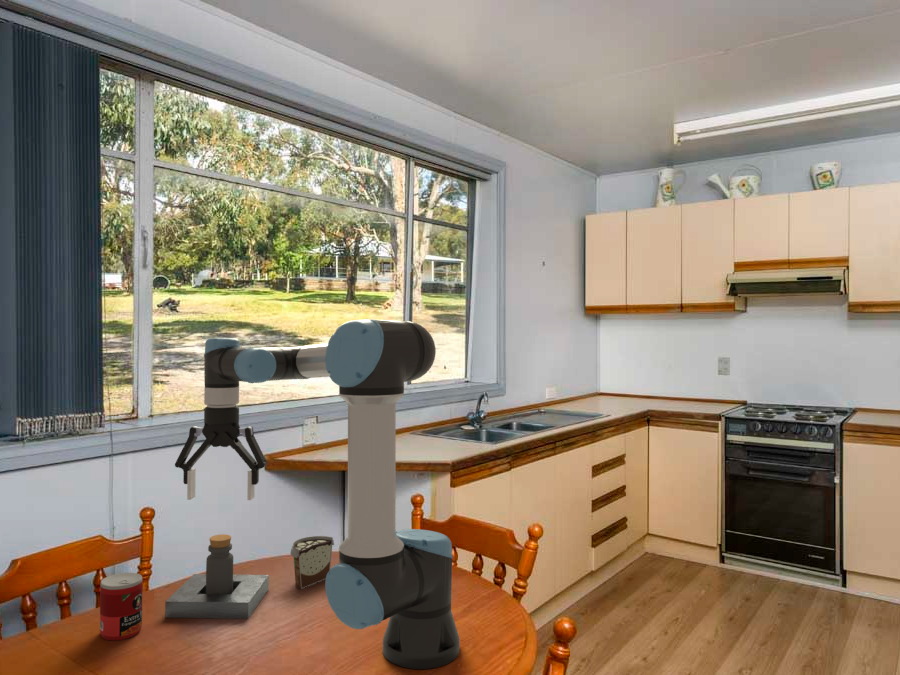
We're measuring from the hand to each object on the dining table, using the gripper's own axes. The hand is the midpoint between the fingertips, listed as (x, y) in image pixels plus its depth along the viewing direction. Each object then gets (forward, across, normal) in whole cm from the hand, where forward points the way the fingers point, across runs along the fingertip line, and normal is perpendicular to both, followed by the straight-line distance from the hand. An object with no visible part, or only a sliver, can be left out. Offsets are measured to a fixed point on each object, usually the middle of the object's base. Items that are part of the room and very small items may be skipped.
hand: (221, 498), depth 149 cm
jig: (+24, 0, 0) cm, 24 cm away
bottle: (+24, 0, 0) cm, 24 cm away
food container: (+24, -17, -14) cm, 33 cm away
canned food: (+24, +15, +15) cm, 32 cm away
